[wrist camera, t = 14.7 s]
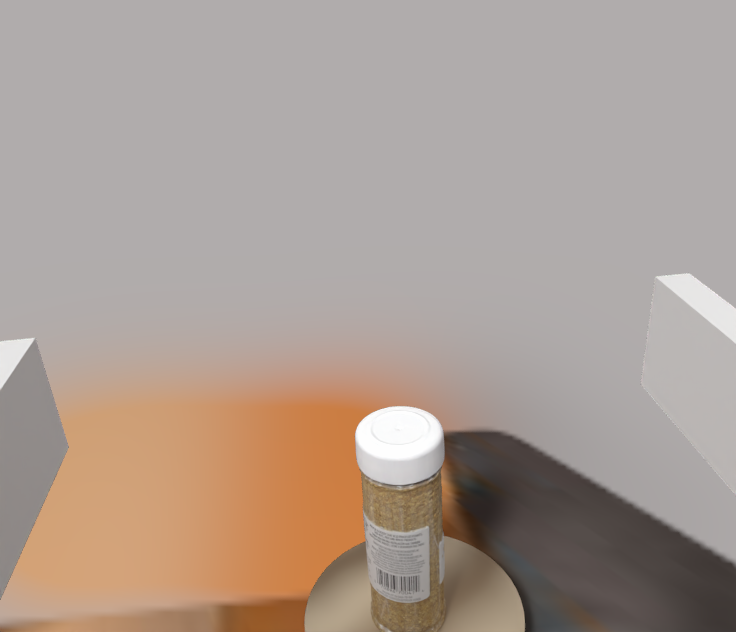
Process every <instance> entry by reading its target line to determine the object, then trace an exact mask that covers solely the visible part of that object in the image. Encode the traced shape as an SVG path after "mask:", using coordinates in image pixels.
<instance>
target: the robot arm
mask: <svg viewBox="0 0 736 632" xmlns="http://www.w3.org/2000/svg"><path fill="white" fill-rule="evenodd" d="M641 385H642V387H643V388H644V389H645V390H646V391H647V393H649V395H650V396H651V397H652V398H653V399H654V401H655V402H656V403H657V404H658V405H659V407H660V408H661V409H662V410H663V411H664V412H665V413H666V415H667V416H668V417H669V418H670V419H671V421H672V422H673V423H674V424H675V425H676V426H677V428H678V429H679V430H680V431H681V432H682V433H683V435H684V436H685V437H686V438H687V439H688V440H689V442H690V443H691V444H692V445H693V446H694V447H695V449H696V450H697V451H698V452H699V453H700V454H701V456H702V457H703V458H704V459H705V460H706V461H707V463H708V464H709V465H710V466H711V467H712V468H713V470H714V471H715V472H716V473H717V474H718V475H719V477H720V478H721V479H722V480H723V481H724V483H725V484H726V485H727V486H728V487H729V488H730V490H731V491H732V492H733V493H734V494H735V495H736V308H734V307H733V306H732V305H730V304H729V303H728V302H727V301H725V300H724V299H723V298H721V297H720V296H719V295H717V294H716V293H714V292H713V291H712V290H711V289H709V288H708V287H706V286H705V285H704V284H703V283H701V282H700V281H699V280H697V279H696V278H695V277H693V276H692V275H691V274H689V273H687V274H677V275H667V276H658V277H655V283H654V290H653V297H652V305H651V312H650V320H649V327H648V335H647V341H646V348H645V356H644V363H643V370H642V378H641ZM68 448H69V446H68V443H67V440H66V437H65V434H64V430H63V427H62V424H61V421H60V417H59V414H58V410H57V407H56V404H55V401H54V397H53V394H52V391H51V388H50V384H49V381H48V378H47V375H46V371H45V368H44V365H43V362H42V358H41V355H40V352H39V349H38V345H37V342H36V339H35V338H29V339H20V340H10V341H0V599H1V597H2V595H3V593H4V590H5V588H6V586H7V584H8V581H9V579H10V577H11V575H12V573H13V570H14V568H15V566H16V564H17V561H18V559H19V557H20V554H21V553H22V550H23V548H24V546H25V543H26V541H27V539H28V537H29V534H30V532H31V530H32V528H33V526H34V524H35V521H36V519H37V517H38V514H39V512H40V510H41V508H42V506H43V503H44V501H45V499H46V497H47V494H48V492H49V490H50V488H51V486H52V483H53V481H54V479H55V477H56V474H57V472H58V470H59V468H60V466H61V463H62V461H63V459H64V456H65V454H66V452H67V450H68Z"/></svg>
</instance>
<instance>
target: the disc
mask: <svg viewBox="0 0 736 632" xmlns="http://www.w3.org/2000/svg"><path fill="white" fill-rule="evenodd" d="M444 557H445V574H444V578H443V580H444V598H445V602H446V615H445V619H444V622H443V624H442V625H441V627H440V629H439V630H438V631H437V632H525V618H524V610H523V606H522V602H521V599H520V596H519V594H518V592H517V589H516V587H515V586H514V584H513V582H512V581H511V579H510V578H509V576H508V575H507V574H506V573H505V571H504V570H503V569H502V568H501V567H500V566H499V565H498V564H497V563H496V562H495V561H494V560H492V559H491V558H490V557H489V556H487V555H486V554H485V553H483V552H481V551H480V550H478V549H476V548H475V547H473V546H471V545H469V544H467V543H464V542H462V541H460V540H457V539H454V538H451V537H447V536H444ZM371 601H372V599H371V585H370V580H369V575H368V564H367V552H366V541H365V542H363V543H361V544H359V545H357V546H355V547H353V548H351V549H350V550H348V551H346V552H345V553H343V554H342V555H341V556H339V557H338V558H337V559H336V560H334V561H333V562H332V563H331V564H330V565H329V566H328V567H327V568H326V569H325V571H324V572H323V573H322V574H321V576H320V577H319V578H318V580H317V582H316V584H315V585H314V587H313V589H312V591H311V593H310V596H309V598H308V602H307V606H306V610H305V622H304V624H305V632H381V631H380V630H379V629H378V628H377V627H376V626H375V624H374V622H373V620H372V616H371Z"/></svg>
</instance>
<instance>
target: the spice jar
mask: <svg viewBox="0 0 736 632" xmlns="http://www.w3.org/2000/svg"><path fill="white" fill-rule="evenodd" d="M355 442H356V458H357V463H358V466H359V468H360V471H361V476H362V477H361V478H362V490H363V517H364V527H365V528H364V529H365V539H366V552H367V564H368V575H369V580H370V585H371V599H372V601H371V616H372V620H373V622H374V624H375V626H376V627H377V628H378V629H379V630H380V631H381V632H437V631H438V630H439V629H440V627H441V625H442V624H443V622H444V619H445V615H446V602H445V598H444V580H443V578H444V574H445V557H444V533H443V529H442V486H441V468H442V464H443V461H444V433H443V429H442V426H441V424H440V422H439V421H438V420H437V418H435V417H434V416H433V415H432V414H430V413H428V412H426V411H424V410H421V409H419V408H414V407H407V406H394V407H387V408H383V409H380V410H377V411H375V412H373V413H371V414H369V415H368V416H366V417H365V418H364V419H363V420H362V421H361V422H360V423H359V425H358V427H357V429H356V432H355Z"/></svg>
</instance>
